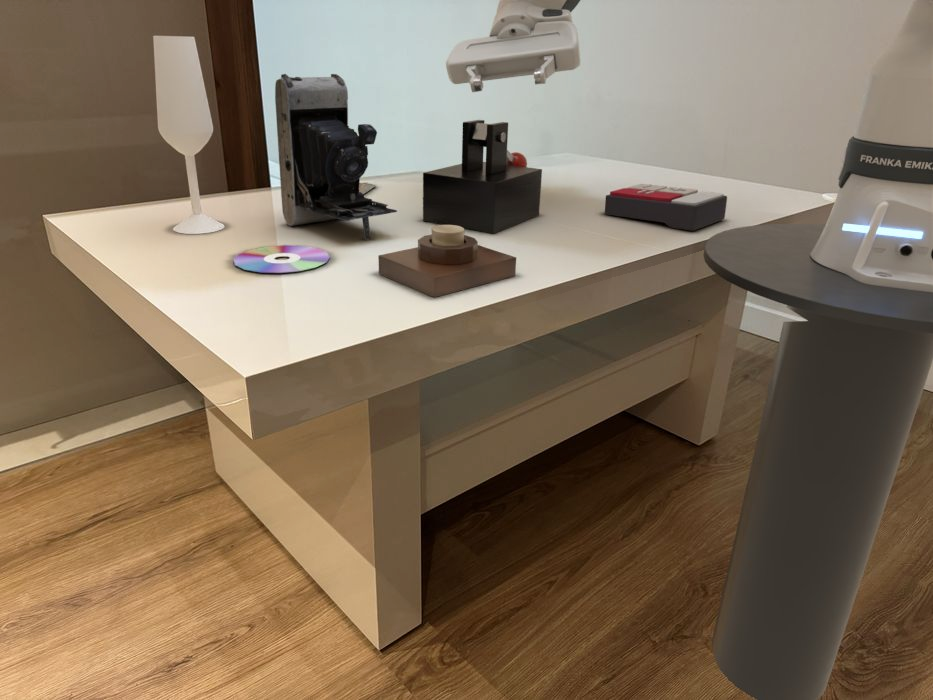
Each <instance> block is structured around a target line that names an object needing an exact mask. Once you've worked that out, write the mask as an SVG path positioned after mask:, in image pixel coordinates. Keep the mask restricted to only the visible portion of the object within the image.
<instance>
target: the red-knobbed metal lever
mask: <svg viewBox="0 0 933 700" xmlns="http://www.w3.org/2000/svg"><path fill="white" fill-rule="evenodd" d="M488 124H489V123H485V122H484V123H477V124H476V127H475V131H474V134H473V138H472V139H473V140H474V141H475V142H476V143H478V144H479V145H480V146H481V147H484V148H486V143H487V125H488ZM506 165H513V166H520V167H528V160H527V158H526V157H525V155H524V154H522V153H521V152H518V151H514V152H510V151H509V150H508V149H507V161H506Z"/></svg>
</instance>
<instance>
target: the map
mask: <svg viewBox="0 0 933 700" xmlns="http://www.w3.org/2000/svg"><path fill="white" fill-rule="evenodd" d="M376 186H377V184H374V183H369V182H359V192H361V193H362V194H363V195H364V194H366V193H367V192H369V191H370V190H373V188H375V187H376Z"/></svg>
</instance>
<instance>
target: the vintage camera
mask: <svg viewBox="0 0 933 700" xmlns="http://www.w3.org/2000/svg"><path fill="white" fill-rule="evenodd" d="M274 86H275V87H274V97H275V98H274V102H275V117H276V134H277V148H278V149H277V150H278V165H279V179H280V196H281V197H280V198H281V210H282V216H283V219H284V221H285V223H286V225H288V226H289V227H293V226H301V225H307V224H314V223H319V222H326V221H332V220H341V221H343V222H349V221H353V220H358V219H361V220H362V228H363V229H362V230H363V233H364V235H363V236H364V240H365V241H368V240H371V233H370V232H371V231H370V221H369V218H371V217H376V216H381V215H382V216H383V215H388V214H394V213H398V210H397V209H393V208H388V206H389V204H387V203H382V202H380V201H375V200H373V199H372V198H368V197H365V195H364V194H362V193H361V192H359V183H361V182H360V180H361V177H362V176H364V174H365V173H366V170H367V168H368V166H369V160H368V155H369V149H368V145H374V144H375V142H376V139H377V134H378V131H377V129H376V128H375V127H374V126H373V125H371V124H370V123H369V124H368V123H361V124H357V132H356V131H355V129H354V128H350V127H349V106H348V105H349V102H348V99H349V96H348V95H349V94H348V86H347V84H346V82H345V79H343V78H342V77H341V76H340V75H339V74H337V73H330V76H311V77H310V76H309V77H308V76H307V77H306V76H305V77H301V76H295V77H292V76H289V75H288V74H286V73H283V74H281V76H280V78H278V79H276V80H275V85H274Z"/></svg>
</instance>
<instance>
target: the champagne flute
mask: <svg viewBox="0 0 933 700" xmlns="http://www.w3.org/2000/svg"><path fill="white" fill-rule="evenodd" d="M152 40H153V58H154V59H153V60H154V77H155V95H156V97H155V99H156V116H157V117H156V118H157V130H158V132H159V134H160V136H161V137H162V138H163V140H164V141H165V142H166V143H167V144H168V145H169V146H171V148H173V149H174V150H175V151H177V152H178V153H180V154H182V156H183V155H184V159H185V167H186V174H187V175H186V176H187V181H188V183H187V184H188V190H189V197H190V205H191V211H192V214H190V215H189V216H188V217H186V218H185V219H184V220H182V221H180V223H178V224H177V225H175V226H174V227H173V229H172V230H173V231H174V232H176V233H179V234H184V235H185V234H187V235H200V234H210V233H214V232H219V231H221V230H224V228H225V224H223V223H221V222H219V221H217V220H216V219H213V218H212V217H210V216H208V215H205V214H204V213H203V212H202V204H201V195H200V189H199V182H198V181H199V179H198V172H197V167H196V166H197V165H196V157H195V155H196V154H198V153H199V152H201V150H203V148H205V146H206V145H207V144H208V142H209V141H210V139H211V137H212V136H213V133H214V124H213V120H212V114H211V110H210V106H209V105H210V104H209V101H208V96H207V91H206V86H205V81H204V77H203V71H202V66H201V62H200V58H199V57H200V56H199V52H198V48H197V44H196V38H195V36H187V35H186V36H183V35H181V36H179V35H153V36H152Z"/></svg>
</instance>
